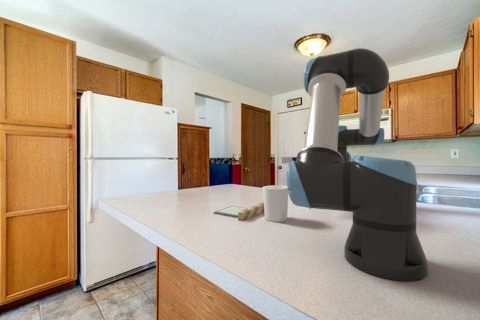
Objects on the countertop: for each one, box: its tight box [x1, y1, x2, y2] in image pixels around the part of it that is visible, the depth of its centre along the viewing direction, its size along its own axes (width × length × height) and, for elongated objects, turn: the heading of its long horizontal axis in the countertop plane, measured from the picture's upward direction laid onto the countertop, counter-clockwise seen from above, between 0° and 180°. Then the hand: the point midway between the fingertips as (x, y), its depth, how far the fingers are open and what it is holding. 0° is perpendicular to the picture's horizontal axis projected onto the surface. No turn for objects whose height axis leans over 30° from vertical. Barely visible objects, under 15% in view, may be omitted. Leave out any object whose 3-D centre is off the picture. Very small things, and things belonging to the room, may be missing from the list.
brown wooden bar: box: [237, 201, 264, 222], centre depth 89 cm, size 20×2×3 cm, turn 146°
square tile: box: [213, 205, 249, 219], centre depth 93 cm, size 13×13×1 cm
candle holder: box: [262, 184, 289, 223], centre depth 83 cm, size 10×10×12 cm
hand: (292, 160), depth 88 cm, fingers open, 13 cm apart
